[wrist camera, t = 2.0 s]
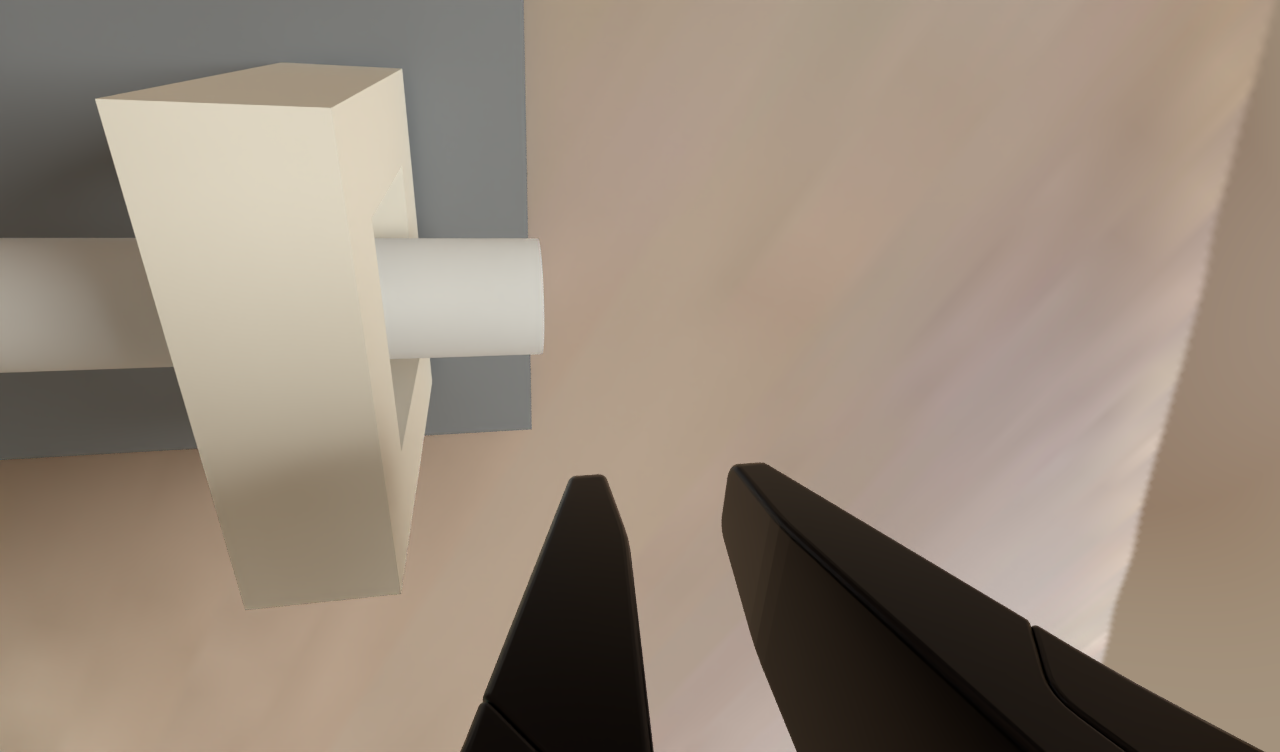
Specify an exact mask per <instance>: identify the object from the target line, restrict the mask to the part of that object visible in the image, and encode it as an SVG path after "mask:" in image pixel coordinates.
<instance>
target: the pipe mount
mask: <svg viewBox="0 0 1280 752" xmlns="http://www.w3.org/2000/svg"><path fill="white" fill-rule="evenodd" d="M281 62H284V63H303V64H323V65H342V66H362V67H381V68H401V69H402V72H403V82H404V93H405V103H406V114H407V124H408V135H409V145H410V155H411V166H412V176H413V187H414V197H415V208H416V218H417V229H418V238H374V239H375V247H376V255H377V263H378V271H379V279H380V287H381V295H382V303H383V310H384V318H385V326H386V334H387V342H388V350H389V358H390V359H414V358H430V364H431V375H432V387H431V393H430V400H429V407H428V414H427V421H426V427H425V434H424V435H441V434H459V433H476V432H493V431H511V430H528V429H532V425H531V372H530V354H543V348H544V291H543V272H542V258H541V249H540V242H539V239H538V238H528V213H527V159H526V106H525V53H524V0H0V460H7V459H24V458H42V457H59V456H77V455H94V454H111V453H129V452H146V451H163V450H181V449H198V448H197V444H196V441H195V438H194V434H193V431H192V427H191V424H190V421H189V417H188V414H187V410H186V407H185V404H184V400H183V397H182V393H181V390H180V387H179V383H178V380H177V376H176V373H175V370H174V366H173V363H172V359H171V356H170V353H169V349H168V346H167V342H166V339H165V336H164V332H163V329H162V325H161V322H160V319H159V315H158V312H157V308H156V305H155V301H154V298H153V295H152V291H151V288H150V284H149V281H148V278H147V274H146V271H145V267H144V264H143V261H142V257H141V254H140V250H139V247H138V244H137V240H136V237H135V233H134V230H133V227H132V223H131V220H130V216H129V213H128V210H127V206H126V203H125V199H124V196H123V193H122V189H121V186H120V182H119V179H118V176H117V172H116V169H115V165H114V162H113V159H112V155H111V152H110V148H109V145H108V142H107V138H106V135H105V131H104V128H103V125H102V121H101V118H100V114H99V111H98V108H97V104H96V101H95V99H96V98H101V97H107V96H112V95H117V94H122V93H127V92H132V91H137V90H142V89H148V88H153V87H158V86H163V85H168V84H173V83H178V82H183V81H189V80H194V79H199V78H204V77H209V76H214V75H219V74H224V73H230V72H235V71H240V70H245V69H250V68H255V67H260V66H265V65H271V64H276V63H281Z"/></svg>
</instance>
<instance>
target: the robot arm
mask: <svg viewBox="0 0 1280 752" xmlns="http://www.w3.org/2000/svg"><path fill="white" fill-rule="evenodd" d="M722 533H723V538H724V542H725V545H726V549H727V552H728V556H729V559H730V563H731V566H732V570H733V574H734V577H735V581H736V584H737V588H738V591H739V595H740V598H741V602H742V605H743V609H744V612H745V616H746V620H747V623H748V627H749V630H750V633H751V637H752V640H753V643H754V646H755V649H756V652H757V655H758V657H759V660H760V663H761V665H762V668H763V670H764V673H765V675H766V678H767V680H768V683H769V685H770V688H771V690H772V692H773V695H774V697H775V700H776V702H777V705H778V707H779V710H780V712H781V714H782V717H783V719H784V722H785V724H786V727H787V729H788V732H789V734H790V736H791V739H792V741H793V744H794V746H795V749H796V751H797V752H1264V751H1262V750H1260V749H1258V748H1256V747H1254V746H1252V745H1251V744H1249V743H1247V742H1245V741H1243V740H1241V739H1239V738H1237V737H1235V736H1233V735H1231V734H1229V733H1228V732H1226V731H1224V730H1222V729H1220V728H1218V727H1216V726H1214V725H1212V724H1211V723H1209V722H1207V721H1205V720H1203V719H1201V718H1199V717H1197V716H1195V715H1193V714H1192V713H1190V712H1188V711H1186V710H1184V709H1183V708H1181V707H1179V706H1177V705H1175V704H1173V703H1171V702H1169V701H1168V700H1166V699H1164V698H1162V697H1160V696H1158V695H1157V694H1155V693H1153V692H1151V691H1149V690H1147V689H1145V688H1144V687H1142V686H1140V685H1138V684H1136V683H1134V682H1133V681H1131V680H1129V679H1127V678H1126V677H1124V676H1122V675H1120V674H1119V673H1117V672H1115V671H1114V670H1112V669H1110V668H1108V667H1107V666H1105V665H1103V664H1101V663H1100V662H1098V661H1096V660H1095V659H1093V658H1091V657H1089V656H1088V655H1086V654H1084V653H1082V652H1081V651H1079V650H1077V649H1075V648H1074V647H1072V646H1070V645H1069V644H1067V643H1065V642H1064V641H1062V640H1060V639H1059V638H1057V637H1055V636H1054V635H1052V634H1050V633H1049V632H1047V631H1045V630H1044V629H1042V628H1040V627H1039V626H1036V625H1035V626H1032V627H1031V625H1030V622H1029V621H1028V620H1027V619H1025V618H1023V617H1022V616H1020V615H1018V614H1017V613H1015V612H1013V611H1012V610H1010V609H1008V608H1007V607H1005V606H1003V605H1002V604H1000V603H998V602H997V601H995V600H993V599H992V598H990V597H988V596H987V595H985V594H983V593H982V592H980V591H978V590H977V589H975V588H973V587H972V586H970V585H968V584H966V583H965V582H963V581H961V580H960V579H958V578H956V577H955V576H953V575H951V574H950V573H948V572H946V571H945V570H943V569H941V568H940V567H938V566H936V565H935V564H933V563H931V562H930V561H928V560H926V559H925V558H923V557H921V556H920V555H918V554H916V553H915V552H913V551H911V550H910V549H908V548H906V547H905V546H903V545H901V544H900V543H898V542H896V541H895V540H893V539H891V538H890V537H888V536H886V535H885V534H883V533H881V532H879V531H878V530H876V529H874V528H873V527H871V526H869V525H868V524H866V523H864V522H863V521H861V520H859V519H858V518H856V517H854V516H853V515H851V514H849V513H848V512H846V511H844V510H843V509H841V508H839V507H838V506H836V505H834V504H833V503H831V502H829V501H828V500H826V499H824V498H823V497H821V496H819V495H818V494H816V493H814V492H813V491H811V490H809V489H808V488H806V487H804V486H803V485H801V484H799V483H797V482H796V481H794V480H792V479H791V478H789V477H787V476H786V475H784V474H782V473H781V472H779V471H777V470H776V469H774V468H772V467H771V466H769V465H767V464H765V463H747V464H736V465H734V466H733V467H732V468H731V469H730V471H729V473H728V478H727V485H726V492H725V498H724V505H723V512H722ZM460 752H654V751H653V742H652V733H651V725H650V716H649V707H648V699H647V690H646V681H645V673H644V664H643V655H642V647H641V638H640V629H639V621H638V612H637V603H636V595H635V586H634V577H633V569H632V560H631V552H630V546H629V541H628V537H627V534H626V531H625V528H624V525H623V522H622V519H621V517H620V514H619V511H618V508H617V506H616V503H615V500H614V498H613V495H612V492H611V489H610V487H609V484H608V481H607V479H606V477H605V476H603V475H600V474H597V475H583V476H574V477H572V478H570V480H569V481H568V484H567V486H566V489H565V491H564V494H563V496H562V499H561V501H560V504H559V507H558V509H557V512H556V514H555V517H554V519H553V522H552V524H551V527H550V529H549V532H548V534H547V537H546V539H545V542H544V544H543V547H542V549H541V552H540V554H539V557H538V560H537V562H536V565H535V567H534V570H533V572H532V575H531V577H530V580H529V582H528V585H527V587H526V590H525V592H524V595H523V597H522V600H521V602H520V605H519V607H518V610H517V613H516V615H515V618H514V620H513V623H512V625H511V628H510V630H509V633H508V635H507V638H506V640H505V643H504V645H503V648H502V650H501V653H500V655H499V658H498V660H497V663H496V665H495V668H494V671H493V673H492V676H491V678H490V681H489V683H488V686H487V688H486V691H485V693H484V696H483V703H481V704H480V705H479V707H478V710H477V712H476V715H475V717H474V720H473V722H472V725H471V727H470V730H469V732H468V735H467V737H466V740H465V742H464V745H463V747H462V749H461V751H460Z"/></svg>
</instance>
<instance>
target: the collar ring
mask: <svg viewBox="0 0 1280 752" xmlns="http://www.w3.org/2000/svg"><path fill="white" fill-rule="evenodd" d="M95 101H96V104H97V108H98V111H99V114H100V118H101V121H102V125H103V128H104V131H105V135H106V138H107V142H108V145H109V148H110V152H111V155H112V159H113V162H114V165H115V169H116V172H117V176H118V179H119V182H120V186H121V189H122V193H123V196H124V199H125V203H126V206H127V210H128V213H129V216H130V220H131V223H132V227H133V230H134V233H135V237H136V240H137V244H138V247H139V250H140V254H141V257H142V261H143V264H144V267H145V271H146V274H147V278H148V281H149V284H150V288H151V291H152V295H153V298H154V301H155V305H156V308H157V312H158V315H159V319H160V322H161V325H162V329H163V332H164V336H165V339H166V342H167V346H168V349H169V353H170V356H171V359H172V363H173V366H174V370H175V373H176V376H177V380H178V383H179V387H180V390H181V393H182V397H183V400H184V404H185V407H186V410H187V414H188V417H189V421H190V424H191V427H192V431H193V434H194V438H195V441H196V444H197V448H198V451H199V455H200V458H201V461H202V465H203V468H204V472H205V475H206V478H207V482H208V485H209V489H210V492H211V495H212V499H213V502H214V506H215V509H216V512H217V516H218V519H219V523H220V526H221V529H222V533H223V536H224V540H225V543H226V546H227V550H228V553H229V557H230V560H231V563H232V567H233V570H234V574H235V577H236V580H237V584H238V587H239V591H240V594H241V597H242V601H243V604H244V608H245V610H251V609H261V608H270V607H280V606H290V605H299V604H309V603H318V602H328V601H338V600H347V599H357V598H367V597H376V596H386V595H395V594H401V591H402V584H403V578H404V571H405V564H406V557H407V550H408V543H409V537H410V530H411V523H412V516H413V509H414V503H415V496H416V489H417V482H418V475H419V468H420V462H421V455H422V448H423V441H424V434H425V427H426V421H427V414H428V407H429V400H430V393H431V387H432V375H431V364H430V358H414V359H390V358H389V350H388V342H387V334H386V326H385V318H384V310H383V303H382V295H381V287H380V279H379V271H378V263H377V255H376V247H375V239H374V238H418V229H417V218H416V208H415V197H414V187H413V176H412V166H411V155H410V145H409V135H408V124H407V114H406V103H405V93H404V82H403V72H402V69H401V68H381V67H362V66H342V65H323V64H303V63H284V62H281V63H276V64H271V65H265V66H260V67H255V68H250V69H245V70H240V71H235V72H230V73H224V74H219V75H214V76H209V77H204V78H199V79H194V80H189V81H183V82H178V83H173V84H168V85H163V86H158V87H153V88H148V89H142V90H137V91H132V92H127V93H122V94H117V95H112V96H107V97H101V98H96V99H95Z"/></svg>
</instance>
